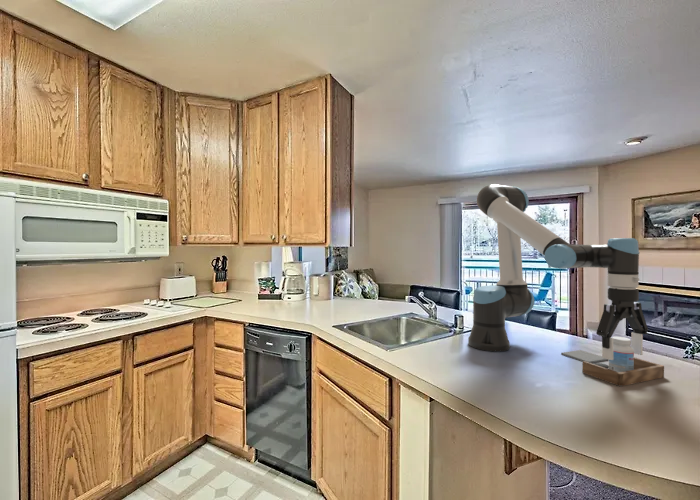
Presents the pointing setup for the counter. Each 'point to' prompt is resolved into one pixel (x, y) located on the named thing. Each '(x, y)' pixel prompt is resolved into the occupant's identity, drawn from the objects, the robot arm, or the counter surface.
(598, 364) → the disc
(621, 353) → the pill bottle
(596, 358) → the coaster
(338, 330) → the counter surface
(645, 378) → the cubby
